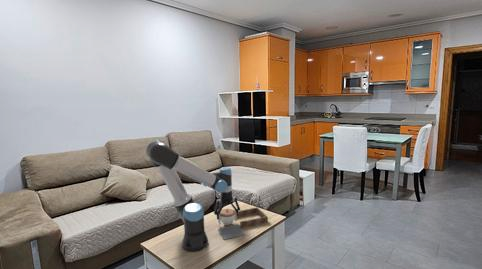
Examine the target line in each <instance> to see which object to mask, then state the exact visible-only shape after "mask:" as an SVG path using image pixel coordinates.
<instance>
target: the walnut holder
mask: <svg viewBox="0 0 482 269" xmlns="http://www.w3.org/2000/svg"><path fill="white" fill-rule="evenodd" d="M255 214H257V215H258V216H259V217H257V218H251V219H248V220H242V221H239V227H240V228H241V229H244V228H248V227H253V226H257V225H263V224H267V223H269V222H268V221H269V217H268V215H266V214H265V213H264V211H262V210H261V209H260V208H259V207H252V208H247V209H242V210H241V209H240V210H239V211H238V216H237V218H240V217H245V216H250V215H251V216H252V215H255Z"/></svg>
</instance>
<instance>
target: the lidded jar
mask: <svg viewBox="0 0 482 269" xmlns="http://www.w3.org/2000/svg"><path fill="white" fill-rule="evenodd" d="M234 219H235V209H234V208H222V210H221V212H220V221H221V223H222V224H223V225H228V226H229V225H232V223H234V221H235V220H234Z"/></svg>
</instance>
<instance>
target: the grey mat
mask: <svg viewBox="0 0 482 269" xmlns="http://www.w3.org/2000/svg"><path fill="white" fill-rule="evenodd" d="M217 231H218V233H219V234H220V237H222V239H223V240H224V241H225V240H230V239H234V238H238V237H244V236H246V234H245V232H244V231H243V229H242V228H240V225H239V224H235V225H231V226H229V225H228V226H227V227H222V228H217Z"/></svg>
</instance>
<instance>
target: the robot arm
mask: <svg viewBox="0 0 482 269" xmlns="http://www.w3.org/2000/svg"><path fill="white" fill-rule="evenodd" d="M145 152H146V155H147V157H149V160H150V161H151V163H152V165H153V167H154V168H156V169H158V170H159V173H160V174H161V177H162V179H163V181H164V183H165V184H166V186H167V188H168V191H169V192H170V195H171V196H172V199H173V200H174V202H173V206H174V208H175V210H176V213H177V215H179V217H180V219H181V220H182V222H183V230H184V235H183V238H182V243H181V244H182V245H181V246H182V249H184V250H185V251H187V252H191V253H192V252H199V251H203V249H205V248H207V247H208V245H209V238H208V235H207V233H206V231H205V211H204V208H203V206H202V205H201V204H200V203H196V202H195V201H194V198H193V197H192V195H191V194H190V193H188V192H187V190H186V188H185V186H184V184H183V182H182V180H181V178H180V176H179V174H178V173H180V174H183V175H185V176H187V177H189V178H191V179H193V180H195V181H197V182H198V183H201V184H202V185H203V186H204V187H208V188H210V189H212V190H214V191H216V193H220V199H216V202H215V203H216V204H215V207H214V210H213V214H214V215H215V216H216V219H217V220H218V222H217V223H218V225H221V223H222V222H221V220H220V212H221V210H223V209H224V207H225V206H227V205H231V207H232V209H233V210H234V211H235V219H234V221H235V222H237V219H238V217H237V216H238V211H241V207H240V205H239V202H238V197H236V196H233V182H232V181H233V180H232V179H233V178H232V176H233V175H232V169H231V168H230V167H221V168H219V171H218V172H212V173H211V172H209V171H207V170H206V169H204V168H202V167H200V166H198V165H196V164H194V163H192V162H190V161H189V160H187V159H185V158H183V157H181V156H180V153H178V152H176V151H174V150H173V149H172V148H171V147H170V146H168V144H166V143H165V142H164V141H161V140H153V141H151V142H149V143H148V145H147V147H146V151H145ZM232 201H234V203H235V205H236V206H235V205H234V204H233V202H232Z"/></svg>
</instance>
